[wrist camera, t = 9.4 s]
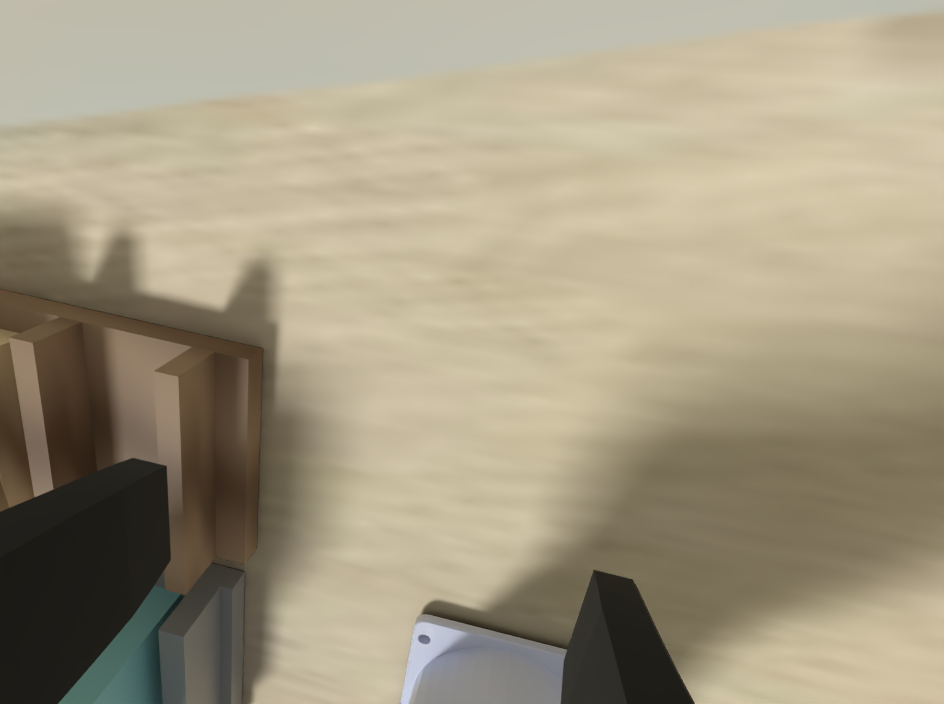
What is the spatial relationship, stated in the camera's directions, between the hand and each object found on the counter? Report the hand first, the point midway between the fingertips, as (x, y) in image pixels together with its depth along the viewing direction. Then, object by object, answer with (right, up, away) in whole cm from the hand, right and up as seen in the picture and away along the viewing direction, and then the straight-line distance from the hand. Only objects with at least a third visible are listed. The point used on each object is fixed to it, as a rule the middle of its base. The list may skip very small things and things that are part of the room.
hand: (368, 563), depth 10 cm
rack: (-13, +1, +13) cm, 18 cm away
